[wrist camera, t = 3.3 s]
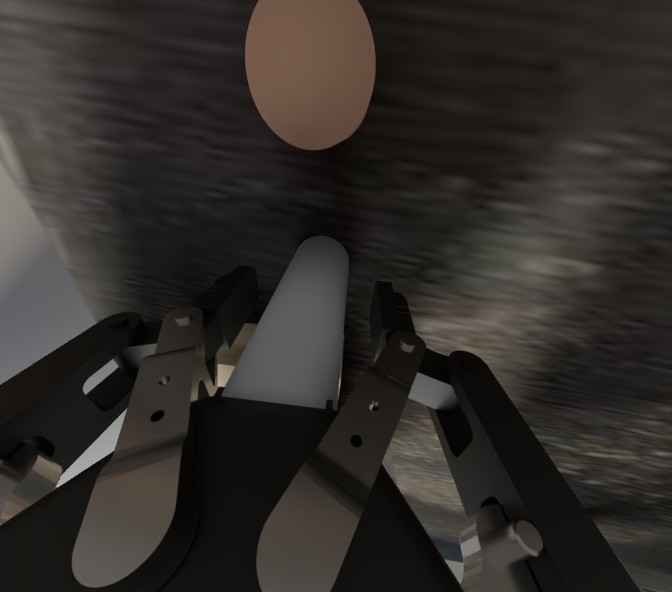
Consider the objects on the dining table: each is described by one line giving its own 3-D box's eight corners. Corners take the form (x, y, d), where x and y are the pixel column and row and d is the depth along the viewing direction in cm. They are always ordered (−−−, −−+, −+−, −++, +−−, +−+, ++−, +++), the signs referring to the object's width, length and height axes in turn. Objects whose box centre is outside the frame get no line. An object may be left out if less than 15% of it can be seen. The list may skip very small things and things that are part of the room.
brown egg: (375, 43, 9) (388, -26, 5) (363, 146, 11) (365, 155, 7) (289, 36, 9) (234, -38, 5) (292, 139, 11) (253, 144, 7)
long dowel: (352, 239, 14) (341, 394, 6) (346, 287, 16) (331, 454, 8) (294, 232, 14) (201, 378, 6) (295, 281, 16) (228, 441, 8)
